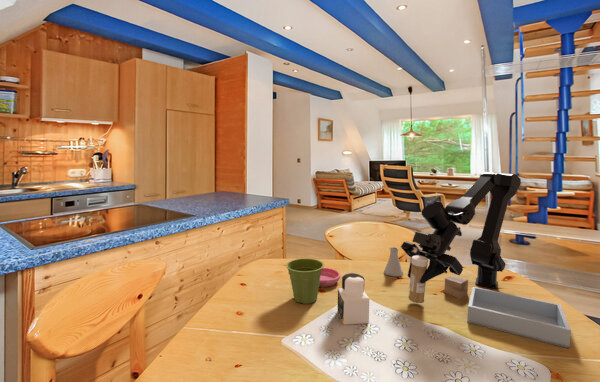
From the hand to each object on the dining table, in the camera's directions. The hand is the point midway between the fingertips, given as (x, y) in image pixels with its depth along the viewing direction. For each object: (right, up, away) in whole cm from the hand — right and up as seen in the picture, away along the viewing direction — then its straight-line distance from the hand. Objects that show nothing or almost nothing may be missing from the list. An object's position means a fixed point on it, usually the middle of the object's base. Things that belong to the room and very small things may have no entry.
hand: (414, 279), depth 89 cm
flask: (+2, -5, +26) cm, 26 cm away
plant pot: (-32, -8, +6) cm, 34 cm away
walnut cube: (+17, -7, +9) cm, 20 cm away
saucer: (-26, -7, +19) cm, 33 cm away
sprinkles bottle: (+1, -7, +2) cm, 7 cm away
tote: (+24, -9, -8) cm, 26 cm away
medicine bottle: (-19, -9, -6) cm, 22 cm away
